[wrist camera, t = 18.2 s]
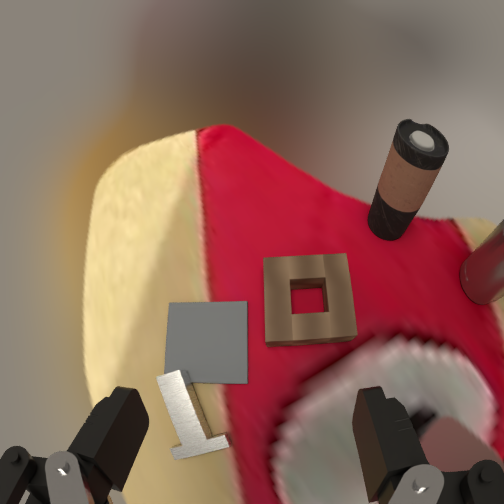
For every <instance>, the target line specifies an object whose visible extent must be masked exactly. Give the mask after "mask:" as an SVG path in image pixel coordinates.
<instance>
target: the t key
mask: <svg viewBox="0 0 504 504" xmlns="http://www.w3.org/2000/svg"><path fill="white" fill-rule="evenodd" d="M156 378H157V381H158V384H159V387H160V390H161V393H162V396H163V398H164V401H165V404H166V407H167V409H168V412H169V415H170V417H171V420H172V422H173V425H174V427H175V430H176V432H177V435H178V437H179V439H180V442H181V444H180V445H176V446H173V447H172V448H170V450H171V453H172V455H173V457H174V459H175V460H177V459H182V458H187V457H191V456H196V455H200V454H204V453H208V452H212V451H215V450H219V449H223V448H226V447H230V445H231V441H230V439H229V437H228V434H227V432H225V433H222V434H219V435H215V436H212V433H211V431H210V429H209V426H208V424H207V421H206V419H205V417H204V414H203V412H202V409H201V407H200V404H199V402H198V399H197V396H196V394H195V391H194V389H193V386H192V383H191V380H190V378H189V375H188V372H187V370H177V371H174V372H170V373H167V374H164V375H161V376H157V377H156ZM211 436H212V437H211Z"/></svg>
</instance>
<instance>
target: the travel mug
mask: <svg viewBox="0 0 504 504" xmlns="http://www.w3.org/2000/svg"><path fill="white" fill-rule="evenodd" d="M448 151H449V145H448V142H447V140H446V139H445V137H444V136H443V135H442V134H441V132H440V131H438V130H437V129H436V128H434V127H433V126H431V125H429V124H418V123H415V122H413V121H412V120H411V119H406V120H403V121H401V122H400V123H399V124H398V126H397V129H396V133H395V135H394V139H393V142H392V145H391V148H390V151H389V154H388V157H387V160H386V163H385V166H384V169H383V171H382V174H381V177H380V180H379V183H378V186H377V189H376V193H375V196H374V199H373V202H372V205H371V208H370V211H369V215H368V225H369V227H370V229H371V231H372V232H373V233H374V234H375V235H376V236H378V237H379V238H381V239H384V240H395V239H398V238H399V237H401V236H402V234H403V233H404V232H405V230H406V229H407V227H408V226H409V224H410V223H411V221H412V220H413V218H414V216H415V215H416V213H417V212H418V210H419V209H420V207H421V205H422V204H423V202H424V200H425V198H426V196H427V194H428V192H429V191H430V189H431V187H432V185H433V183H434V181H435V179H436V177H437V175H438V173H439V171H440V169H441V167H442V165H443V163H444V161H445V158H446V156H447V154H448Z"/></svg>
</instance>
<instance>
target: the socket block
mask: <svg viewBox="0 0 504 504" xmlns="http://www.w3.org/2000/svg"><path fill="white" fill-rule="evenodd" d="M263 262H264V300H265V342H266V345H267V347H273V346H294V345H310V344H323V343H335V342H345V341H351V340H352V339H353V338H355V337H356V336H357V327H356V318H355V310H354V302H353V295H352V288H351V281H350V274H349V268H348V262H347V256H346V253H343V254H325V255H307V256H288V257H269V258H263ZM309 288H322V292H323V302H324V312H321V313H306V314H292V312H291V295H290V290H291V289H309Z"/></svg>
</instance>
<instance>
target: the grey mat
mask: <svg viewBox="0 0 504 504" xmlns="http://www.w3.org/2000/svg"><path fill="white" fill-rule="evenodd" d="M177 370H187V372H188V375H189V378H190V380H191V382H194V383H219V384H248V302H247V301H236V302H190V303H169V311H168V323H167V336H166V352H165V370H164V374H167V373H170V372H174V371H177Z"/></svg>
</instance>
